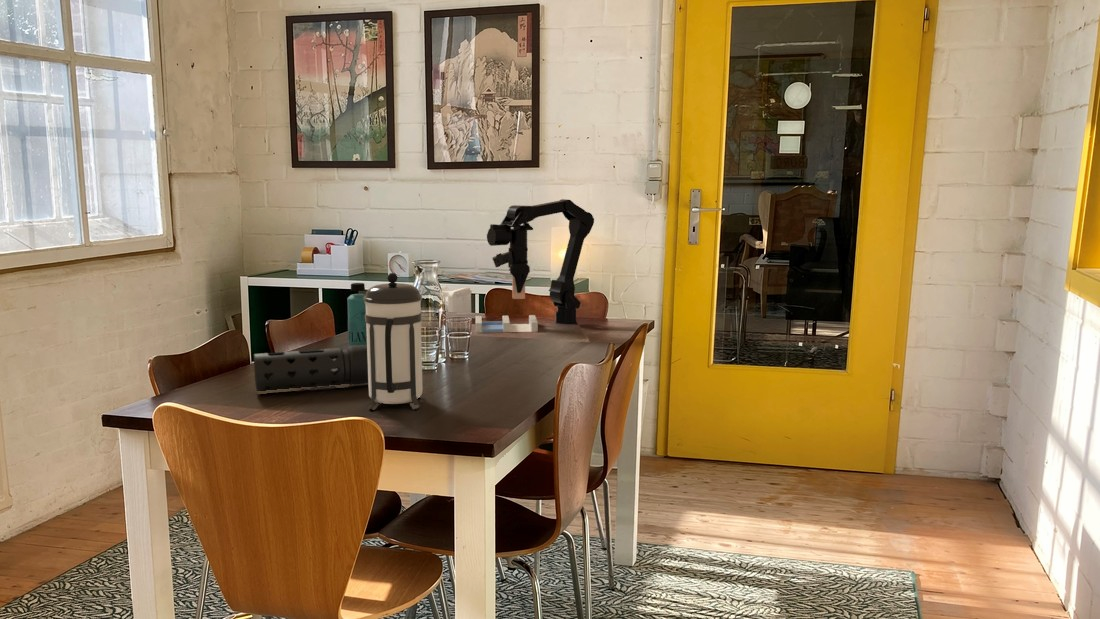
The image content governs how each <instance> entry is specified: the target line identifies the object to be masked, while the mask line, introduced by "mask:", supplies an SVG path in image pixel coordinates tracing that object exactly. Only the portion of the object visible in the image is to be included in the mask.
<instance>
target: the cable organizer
mask: <svg viewBox="0 0 1100 619" xmlns="http://www.w3.org/2000/svg"><path fill="white" fill-rule="evenodd" d="M440 287H441V288H442V291H443V296H444V302H445V311H446V312H457V313H471V314H472V290H471V288H470V287H461V288H457V289H454V290H449V287H448V286H447V285H446V286H445V285H443V286H440Z"/></svg>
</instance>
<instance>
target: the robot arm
mask: <svg viewBox="0 0 1100 619" xmlns="http://www.w3.org/2000/svg"><path fill="white" fill-rule="evenodd" d="M560 213H562V215H563V217H565V219H566V220H567V221H569V222H568V231H569V238H568V243H567V248H566V251H565V254H564V258H563V262H562V266H561V268H560V273H559V276H558V277H557V279H552V280H551V282H550V287H549V289H548V292H549V298H550V299H551V301H552V302H553V306H554V307H556V311H555V320H554V321H555V324H557V325H559V324H562V325H571V324H576V323H577V309H580V306H581V301H580V300H579V299H578V298H577V297H576V296H575V291H576V286H575V281H574V278H575V274H576V271H577V267H578V263H579V260H580V255H581V253H582V252H581V251H582V247H583V245H584V241H585V239H586V238H587V237H588V235H589V234H590V233H591V231H592V228H593V226H594V223H595V218H594V216H593V214H592V212H591V213H590V212H588V211H586V210H585V209H584V208H582V207H580V206H579V205H578V204H576V203H574V202H573V201H572V200H571V199H566V198H565V199H564V198H562V199H560V200H555V201H550V202H545V203H539V204H534V205H521V204H520V205H519V204H518V205H514V204H513V205H510V206H509V207H508V209H507V211H506V214H505V216H504V218H503V219H502V221H501V222H500V223H499V224H495V223H494V224H493V223H492V224H491V223H490V225H489V228H488V230H487V234H486V240H487V243H488V245H489V246H490V247H491V246H493V247H494V246H507V245H509V247H508V251H506V252H503V253H501V252H499V253H497V254H496V256H493V257H492V258H491V259H492V261H493V264H494V266H495V268H499V267H501V266H504V265H506V264H508V265H507V267H508V268H509V269H508V271H509V274H510V275H513V276H514V278H515V283H516V288H517V293H521V291H522V288H523V286H524V283H525V284H526V282H527V278H528V275H529V274H530V273H531V272H530V265H529V261H528V231H534V228H533V226H532V225H530V223H529V222H531V221H534V220H535V219H537V218H539V217H545V216H549V215H554V214H560Z"/></svg>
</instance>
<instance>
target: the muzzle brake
mask: <svg viewBox="0 0 1100 619" xmlns="http://www.w3.org/2000/svg"><path fill="white" fill-rule="evenodd" d="M253 368H254V370H253V371H254V382H255V391H266V390H277V389H289V388H301V387H317V386H329V385H341V384H351V385H352V384H354V385H364V384H365V383H366V384H368V357H367V346H366V345H355V346H349V345H348V346H347V347H346V348H345V349H342V348H341V347H332V348H330V347H329V348H322V349H320V348H319V349H312V350H311V349H309V350H308V349H307V350H289V351H281V352H280V351H278V352H263V353H262V352H261V353H254V354H253Z"/></svg>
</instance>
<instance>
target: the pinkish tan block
mask: <svg viewBox="0 0 1100 619" xmlns="http://www.w3.org/2000/svg"><path fill="white" fill-rule="evenodd" d="M511 278H512V279H511V282H512V283H511V284H512V285H511V286H512V288H511V290H512V292H511V293H512V294H511V295H512V296H511V297H512V299H513V300H520V299H521V300H523V299H524V300H526V282H525V283H524V286H523V288H522V291H521V293H517V288H516V283H515V278H514V276H513V275H512V276H511Z"/></svg>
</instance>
